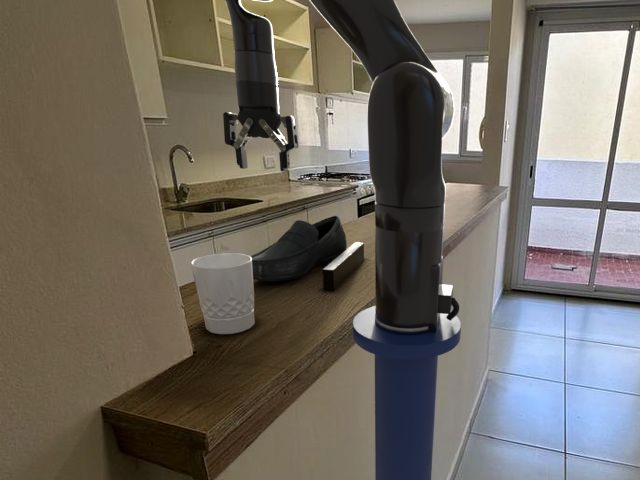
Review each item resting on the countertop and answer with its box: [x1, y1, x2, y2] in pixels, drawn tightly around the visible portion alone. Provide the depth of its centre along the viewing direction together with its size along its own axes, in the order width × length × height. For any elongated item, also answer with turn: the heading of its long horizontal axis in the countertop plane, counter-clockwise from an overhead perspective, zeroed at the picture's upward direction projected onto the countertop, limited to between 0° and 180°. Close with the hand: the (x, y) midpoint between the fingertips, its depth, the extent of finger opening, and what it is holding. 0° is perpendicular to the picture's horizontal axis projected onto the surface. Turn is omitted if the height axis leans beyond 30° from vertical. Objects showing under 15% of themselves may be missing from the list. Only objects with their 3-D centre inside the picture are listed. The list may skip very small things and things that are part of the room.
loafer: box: [249, 215, 348, 282], centre depth 91 cm, size 10×29×10 cm, turn 162°
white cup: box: [190, 252, 256, 335], centre depth 64 cm, size 8×8×10 cm
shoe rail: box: [322, 241, 365, 292], centre depth 91 cm, size 2×22×4 cm, turn 172°
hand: (264, 169), depth 91 cm, fingers open, 8 cm apart
